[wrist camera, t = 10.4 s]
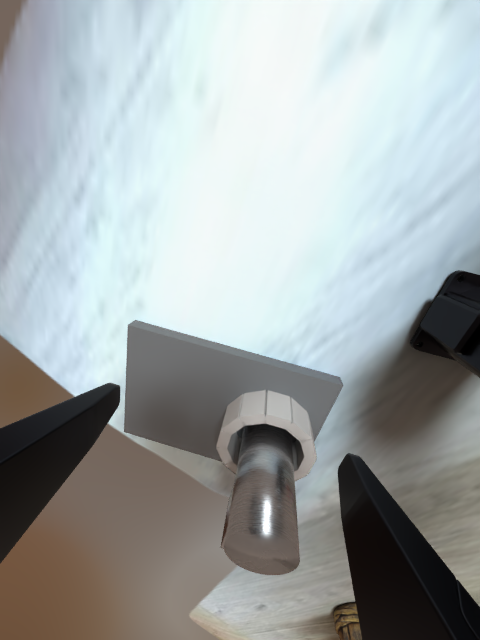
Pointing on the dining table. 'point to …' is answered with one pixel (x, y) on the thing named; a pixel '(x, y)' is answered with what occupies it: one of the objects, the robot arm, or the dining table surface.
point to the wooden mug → (347, 622)
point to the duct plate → (220, 396)
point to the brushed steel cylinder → (263, 504)
